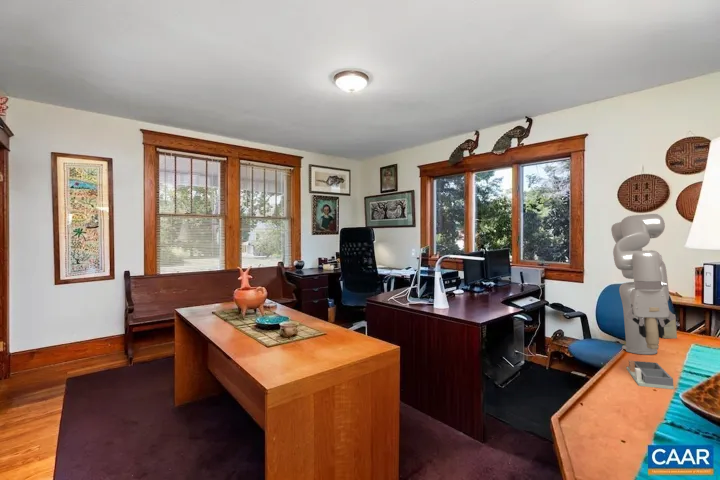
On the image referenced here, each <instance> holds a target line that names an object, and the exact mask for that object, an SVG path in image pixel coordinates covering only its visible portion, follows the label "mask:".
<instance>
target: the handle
mask: <svg viewBox="0 0 720 480" xmlns="http://www.w3.org/2000/svg"><path fill="white" fill-rule="evenodd" d="M649 309H650V310H649V312H657V311H659V308H654V307H649ZM644 326H645V330H646V337H645V340H646V343H647V344H646V345H647V348H650V349H657V350H658V349H659V347H660V346H659V344H660V337H659V330H658V324H657V318H644Z"/></svg>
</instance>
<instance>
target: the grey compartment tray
mask: <svg viewBox="0 0 720 480" xmlns="http://www.w3.org/2000/svg"><path fill="white" fill-rule="evenodd" d="M626 370H627V372H628V373H629V374H630V376H631V377H632V378H633V380H634V382H635V383H636V384H637V386H638V387H647V388H654V389H655V388H657V389H666V390H675V387H674V379H673V377H672V376H671V375H670V374H669V373H668V372H667V371H666V370H665V369H664V368H663V367H662V366H661V365H660V364H659V363H657V362H654V361H653V362H652V361H636V360H630V359H629V360H628V366H626Z"/></svg>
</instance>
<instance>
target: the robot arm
mask: <svg viewBox="0 0 720 480" xmlns="http://www.w3.org/2000/svg"><path fill="white" fill-rule="evenodd" d="M665 227H666V225H665V220H664V218H663V217H662V215H660V214H658V213H647V214H636V215H635V214H634V215H629V216H626V217H624V218H623V219H622V220H621V221H619V222H616V223H614V224H612V225H611V229H610V230H611V231H610V232H611V234H612V235H611V236H612V238H613V240H614V242H615V244H614V246H613V251H612V255H613V260H614V265H615V267H616V268H617V269H618V270H620V271H621V274H622V276H623V277H624V278H625V279H628V280H630V279H631V280H633V281H629V282H623V283H622V284H620V286H619V291H618V293H619V295H620V299H621V303H622V309H623V321H624V323H623V324H624V333H625V335H624V336H625V344H624V345H622V347H621V348H622V350H623V349H626V351H625V352H627V353H631V354H635V355H637V354H638V355H648V356H649V355H656V354H658V349H650V348H647V345H646V344H647V343H646V340H645V337H646V330H645V326H644V318H657V321H658V330H659V339H664V338H663V336H664V327H665V325H666V324H668V323H669V322H670V321H672V320H674V319H677V317H676V315H675V316H674V315H673V314H674V313H673V312H672V311H671V310H670V308H669V299H670V290H669V282H668V280H669V279H668V273H667V267H666V264H665V262H664V260H663V256H662V254H660V253H659V252H658V251H657V250H654V249H653V250H652V249H651V250H643V248H645V247H646V246H648V245H649V243H650V242H651V239H657V238H659V237H660V236H661V235H662V234H663V233H664V231H665ZM649 307H654V308H659V311H657V312H649V310H650V309H649ZM663 318H665V319H664V320H663Z"/></svg>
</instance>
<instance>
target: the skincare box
mask: <svg viewBox="0 0 720 480" xmlns="http://www.w3.org/2000/svg"><path fill="white" fill-rule="evenodd" d="M672 314H673V315H674V316H675V317H676V314H674V313H672ZM664 319H665V318H663V320H664ZM676 319H677V318H676ZM676 319H674V320H672V321H670V322H669V323H668V324H666V325H665V327H664V336H663V338H662V339H678V335H677V334H678V332H677V331H678V330H677V320H676ZM657 324H658V321H657Z"/></svg>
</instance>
